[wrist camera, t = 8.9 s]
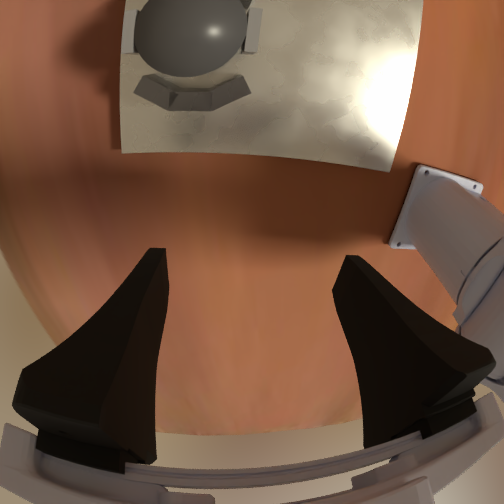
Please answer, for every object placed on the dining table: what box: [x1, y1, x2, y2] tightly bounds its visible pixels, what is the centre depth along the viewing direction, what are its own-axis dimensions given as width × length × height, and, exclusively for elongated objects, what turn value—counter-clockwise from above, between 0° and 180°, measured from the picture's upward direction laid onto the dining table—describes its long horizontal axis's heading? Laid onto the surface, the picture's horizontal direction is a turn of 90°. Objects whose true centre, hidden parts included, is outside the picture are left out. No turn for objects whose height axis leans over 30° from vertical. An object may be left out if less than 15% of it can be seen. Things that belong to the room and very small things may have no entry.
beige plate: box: [120, 0, 423, 173], centre depth 12 cm, size 18×14×4 cm
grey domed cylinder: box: [121, 0, 263, 77], centre depth 10 cm, size 5×4×5 cm
